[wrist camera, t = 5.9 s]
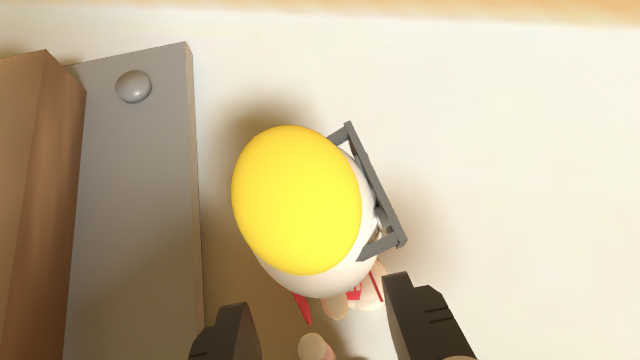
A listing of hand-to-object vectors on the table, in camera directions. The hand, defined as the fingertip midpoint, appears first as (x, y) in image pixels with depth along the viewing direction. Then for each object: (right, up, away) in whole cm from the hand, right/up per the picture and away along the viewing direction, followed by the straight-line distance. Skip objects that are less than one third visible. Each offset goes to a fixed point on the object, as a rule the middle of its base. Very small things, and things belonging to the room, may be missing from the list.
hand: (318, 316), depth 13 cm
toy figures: (+1, -2, +4) cm, 4 cm away
